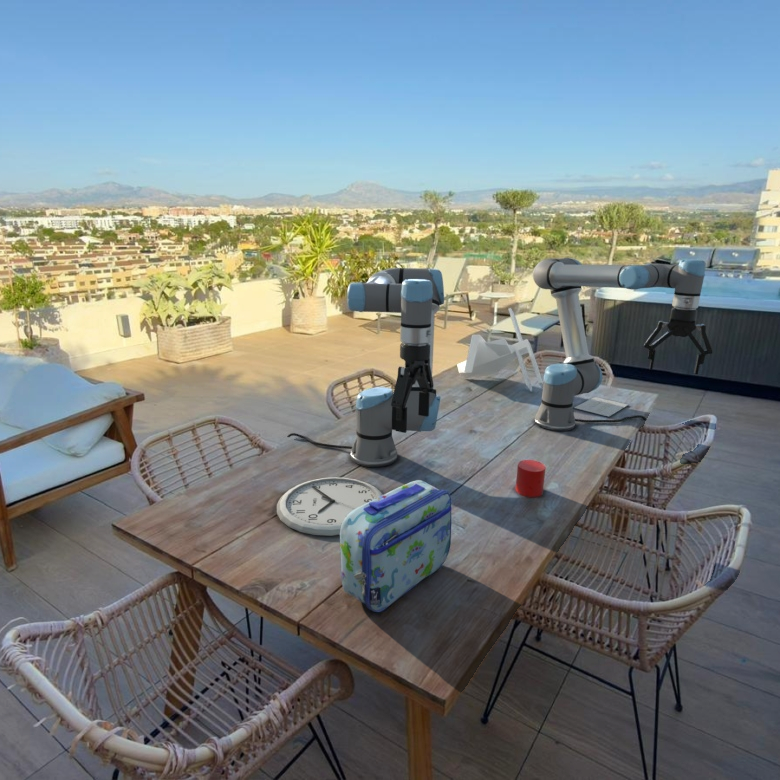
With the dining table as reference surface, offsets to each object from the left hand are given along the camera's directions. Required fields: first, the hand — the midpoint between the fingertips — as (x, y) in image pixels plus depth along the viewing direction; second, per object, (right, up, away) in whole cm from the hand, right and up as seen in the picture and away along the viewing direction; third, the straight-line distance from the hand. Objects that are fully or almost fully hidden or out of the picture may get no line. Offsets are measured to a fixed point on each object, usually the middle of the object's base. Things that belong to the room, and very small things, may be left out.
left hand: (412, 423), depth 136 cm
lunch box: (-4, -33, -24) cm, 41 cm away
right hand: (+90, +15, +41) cm, 100 cm away
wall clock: (-22, -23, +7) cm, 32 cm away
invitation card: (+86, +1, +90) cm, 124 cm away
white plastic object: (+46, +11, +119) cm, 128 cm away
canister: (+35, -21, +17) cm, 44 cm away
